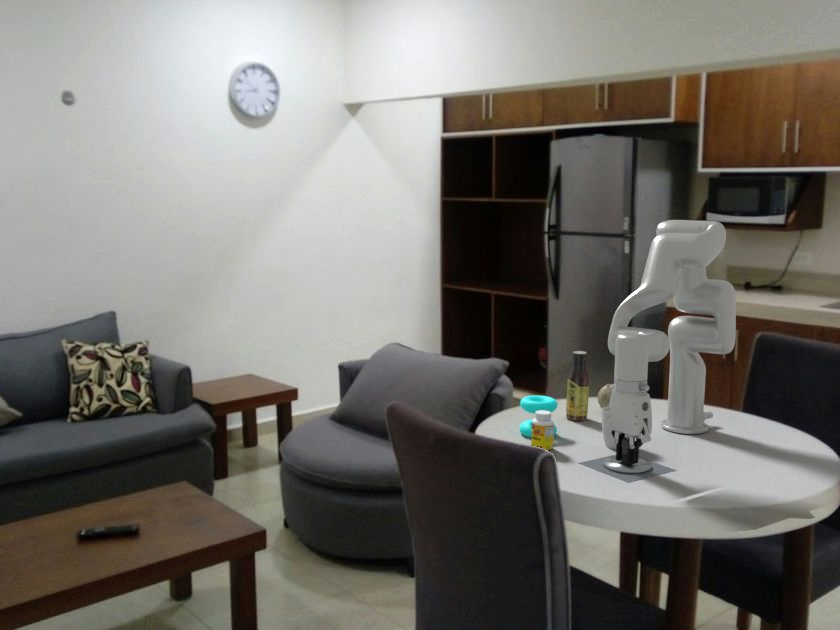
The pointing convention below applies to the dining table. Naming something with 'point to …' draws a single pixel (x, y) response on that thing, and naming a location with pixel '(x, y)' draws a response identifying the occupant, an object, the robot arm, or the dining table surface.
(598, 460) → the mat
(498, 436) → the dining table surface
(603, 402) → the garlic bulb
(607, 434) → the cup
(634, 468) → the lid
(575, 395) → the sauce bottle
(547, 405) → the donuts
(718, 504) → the dining table surface
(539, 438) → the supplement bottle
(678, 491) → the dining table surface
